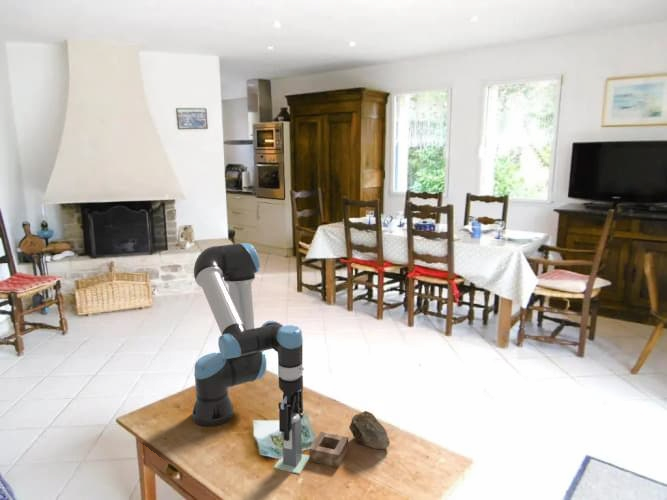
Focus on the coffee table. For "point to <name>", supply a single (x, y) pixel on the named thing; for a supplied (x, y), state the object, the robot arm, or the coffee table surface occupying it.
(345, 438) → the brown square frame
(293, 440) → the plug
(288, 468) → the mat
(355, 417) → the rock
